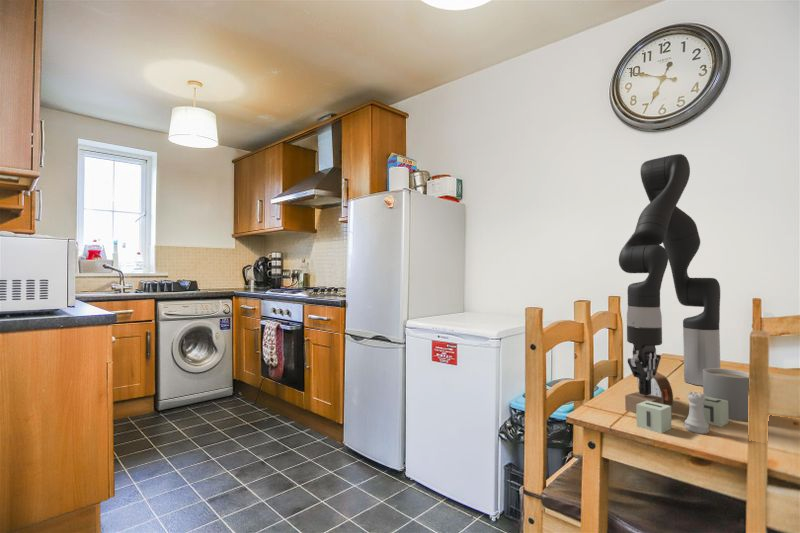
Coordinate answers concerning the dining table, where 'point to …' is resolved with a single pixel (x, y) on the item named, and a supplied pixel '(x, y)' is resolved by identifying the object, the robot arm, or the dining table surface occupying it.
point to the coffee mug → (728, 390)
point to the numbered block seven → (715, 411)
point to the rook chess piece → (696, 414)
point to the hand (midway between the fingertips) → (645, 394)
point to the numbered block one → (653, 416)
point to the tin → (661, 388)
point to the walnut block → (639, 400)
